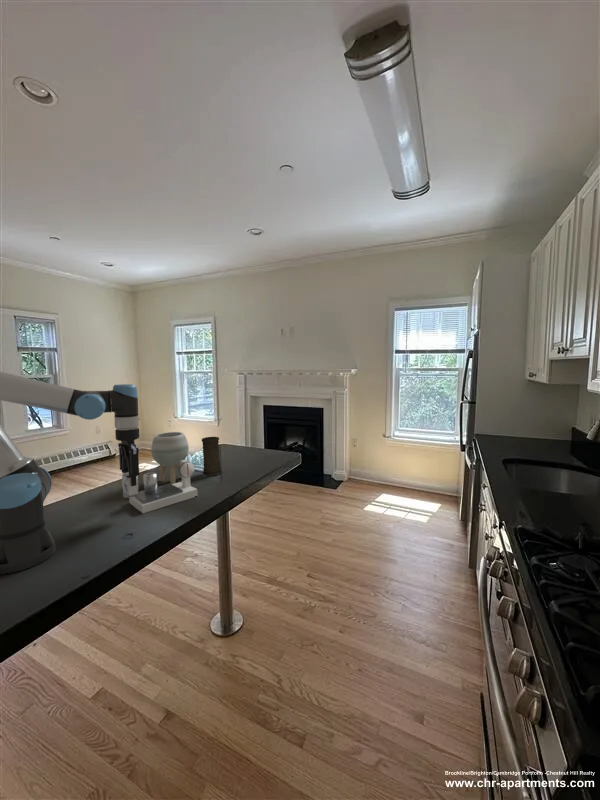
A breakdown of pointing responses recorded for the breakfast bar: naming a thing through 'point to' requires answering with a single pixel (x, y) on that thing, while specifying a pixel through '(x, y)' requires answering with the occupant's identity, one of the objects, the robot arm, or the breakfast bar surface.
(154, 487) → the spacer
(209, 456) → the container
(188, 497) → the scale
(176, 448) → the planter
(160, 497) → the pan
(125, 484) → the spacer
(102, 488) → the breakfast bar surface
